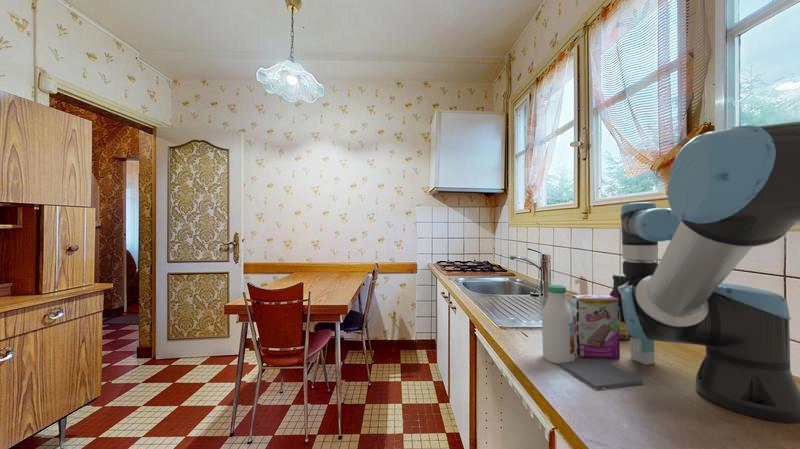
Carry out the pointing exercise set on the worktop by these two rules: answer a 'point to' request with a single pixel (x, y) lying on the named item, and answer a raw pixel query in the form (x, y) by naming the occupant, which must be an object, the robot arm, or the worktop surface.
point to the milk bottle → (557, 327)
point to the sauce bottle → (622, 326)
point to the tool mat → (600, 374)
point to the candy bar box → (596, 326)
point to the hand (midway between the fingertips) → (642, 349)
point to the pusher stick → (644, 353)
